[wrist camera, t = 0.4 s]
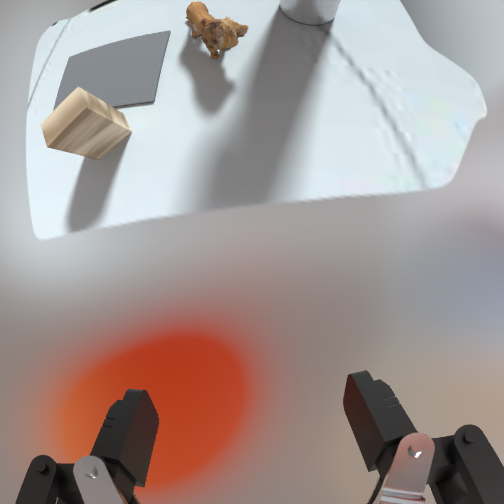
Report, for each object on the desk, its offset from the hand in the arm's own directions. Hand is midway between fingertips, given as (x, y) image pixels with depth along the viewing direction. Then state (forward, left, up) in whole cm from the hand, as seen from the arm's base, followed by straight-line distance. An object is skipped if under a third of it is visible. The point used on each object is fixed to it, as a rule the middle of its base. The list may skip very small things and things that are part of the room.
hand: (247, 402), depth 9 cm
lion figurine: (-34, -9, -27) cm, 45 cm away
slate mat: (-30, -28, -27) cm, 49 cm away
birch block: (-18, -24, -27) cm, 40 cm away
